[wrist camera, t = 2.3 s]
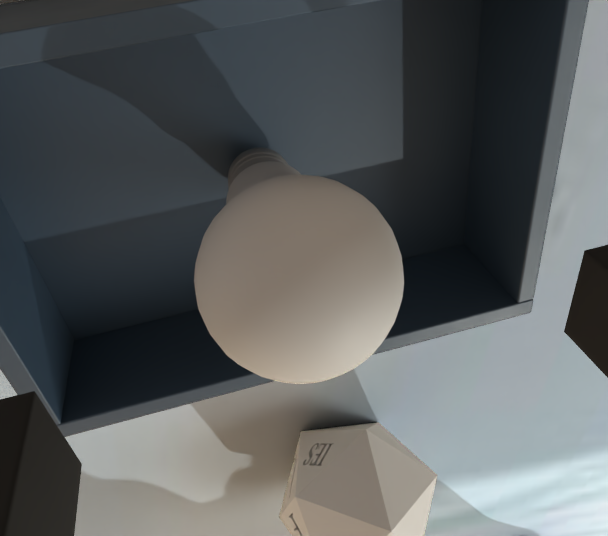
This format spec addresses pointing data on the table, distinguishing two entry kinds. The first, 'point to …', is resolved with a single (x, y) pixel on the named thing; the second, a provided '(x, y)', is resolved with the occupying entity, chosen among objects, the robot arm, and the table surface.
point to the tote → (252, 134)
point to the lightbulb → (296, 273)
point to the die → (356, 485)
